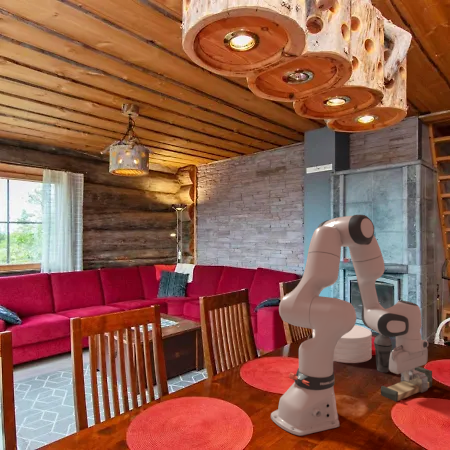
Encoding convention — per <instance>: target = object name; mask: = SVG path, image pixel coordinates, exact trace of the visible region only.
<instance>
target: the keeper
mask: <svg viewBox="0 0 450 450" xmlns="http://www.w3.org/2000/svg"><path fill="white" fill-rule="evenodd" d="M402 381H406V380H404V374H403V373H400V382H402ZM406 382H409V383H412V384H414V385H417V386H420V392H419V393H424V392H427V391H428V389H429V388H428V377H426V376H425V373H422V372H419V371H416V370H415V371H414V374H413V379H412V380H410V381H406Z"/></svg>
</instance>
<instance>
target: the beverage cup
mask: <svg viewBox="0 0 450 450" xmlns="http://www.w3.org/2000/svg"><path fill="white" fill-rule="evenodd" d="M390 338H391V337H386V336H383V335H381V334H378V335H376V336H375V338H374V341H373V346H374V350H375V363H376V370H377V372H380V373H388V372H389V371H390V370H389V359H390V354H391V352H392V351H391V350H392V346H393V345H392V344H393V343H392V340H391V339H390Z"/></svg>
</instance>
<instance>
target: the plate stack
mask: <svg viewBox="0 0 450 450" xmlns="http://www.w3.org/2000/svg"><path fill="white" fill-rule="evenodd" d="M372 333H373V332H372V331H371V329H369V328H368V327H364V326H361V325H356V324H355V325H354V327H353V328H352V330H351V331H349V332H348V333H346V334H345V335H343V336H342V337H341V338H340V339H339V341H338V342H337V344H336V346H335V349H334V357H333V362H336V363H337V362H338V363H345V364H359V363H364V362H365V363H366V362H368V361H369V360H371V359H372V357H373V356H372V355H373V354H372V351H373V350H372V345H373V344H372V340H373V339H372V338H373V337H372V335H373V334H372ZM314 337H315V330H314V329H312V338H314Z"/></svg>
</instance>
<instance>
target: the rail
mask: <svg viewBox="0 0 450 450" xmlns="http://www.w3.org/2000/svg"><path fill="white" fill-rule="evenodd" d="M415 370H416V371H419V372H422V373H425V376H426V377H428V389H429V388H431V387H433V370H430V369H427V368H424V367H422V366H419V367H416V368H415ZM417 393H421V392H420V386H417V385H414V384H412V383H409V382H406V381H402V382H401V381H400V382H397V383H395V384H393V385H389V386H387V387H386V386H384V385H381V386H380V396H382V397H384V398H387V399H389V400H391V401H394V402H398V401H400V400H404V399H405V398H408V397H410V396H412V395H415V394H417Z"/></svg>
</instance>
